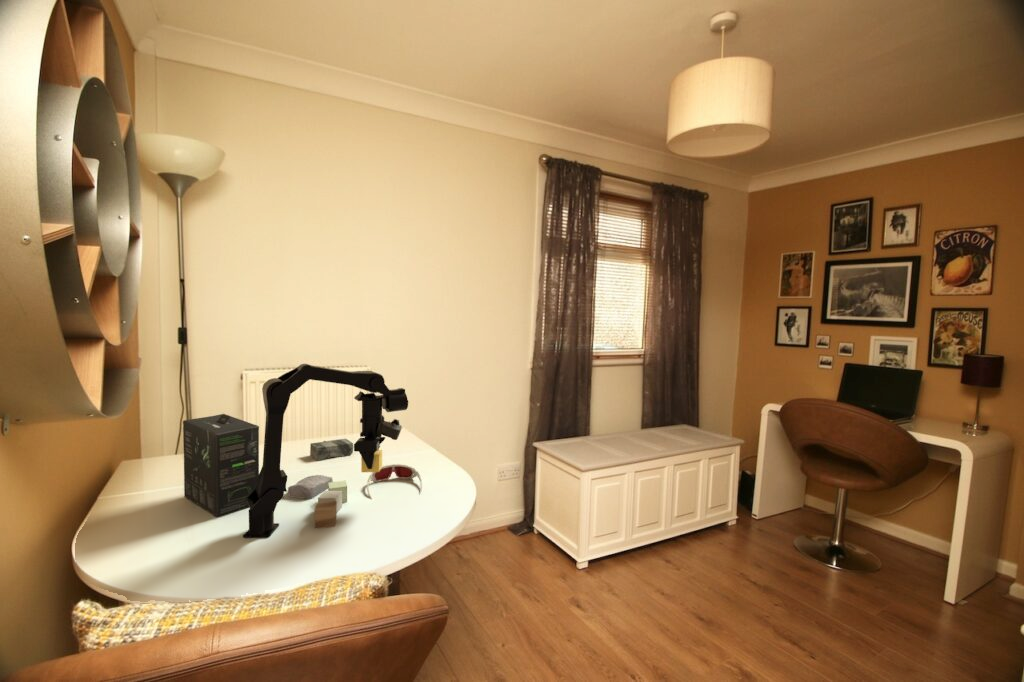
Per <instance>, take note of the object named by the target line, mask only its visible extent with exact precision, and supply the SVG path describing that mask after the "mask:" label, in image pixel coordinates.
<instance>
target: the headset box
mask: <svg viewBox="0 0 1024 682" xmlns="http://www.w3.org/2000/svg"><path fill="white" fill-rule="evenodd" d="M182 430H183V439H182V441H183V477H184V478H183V492H184V493H183V495H184V498H186V499H188V500H190V501H191V502H193V503H194V504H195V505H197V506H199V507H200V508H202V509H204V510H205V511H207V512H208V513H210V514H211V515H213V516H215V517H216V518H221V517H223V516H227V515H230V514H233V513H236V512H239V511H242V510H245V509H248V508H249V505H248V502H247V500H246V498H247V497H248V496H249V495H250V494H251V493H252V492H253V491H254V490H255V489H256V484H257V480H258V476H259V473H260V448H259V447H260V441H259V440H260V425H257V424H254V423H250V422H248V421H245V420H243V419H240V418H238V417H233V416H231V415H229V414H225V413H221V414H215V415H211V416H205V417H204V416H203V417H198V418H191V419H185V420H182Z"/></svg>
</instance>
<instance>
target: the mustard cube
mask: <svg viewBox="0 0 1024 682" xmlns="http://www.w3.org/2000/svg"><path fill="white" fill-rule="evenodd" d="M360 456H361V455H360ZM360 458H361V461H360V462H361V473H372V472H379V471H380V469H381V467H383V450H382V449H379V450H377V451H376V452H375V455H374V461H373V466H372V469H368V468H367V466H366V464H365V462H364V460H363V458H362V456H361V457H360Z"/></svg>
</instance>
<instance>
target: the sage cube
mask: <svg viewBox="0 0 1024 682" xmlns="http://www.w3.org/2000/svg"><path fill="white" fill-rule="evenodd" d="M347 484H348V483H347V481H346V480H338V481H333V482H330V483H328V489H327V491H342V504H344V503H347V502H348V485H347Z"/></svg>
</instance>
